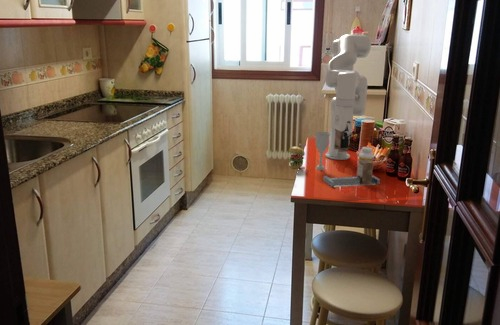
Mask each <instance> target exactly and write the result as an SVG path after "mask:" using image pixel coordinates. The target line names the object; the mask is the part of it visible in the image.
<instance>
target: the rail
mask: <svg viewBox="0 0 500 325" xmlns="http://www.w3.org/2000/svg"><path fill="white" fill-rule="evenodd" d="M323 181H324V183H326V184H327V185H328V186H330V187H331V188H340V187H341V188H342V187H356V186H357V187H358V186H373V185H375V186H376V185H380V183H381V179H380V178H378V177H377V176H375V175H373V174H372V178H371V183H363V184H362V178H361V177H360V176H358V175H357V176H344V177H329V176H328V175H323Z"/></svg>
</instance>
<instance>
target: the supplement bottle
mask: <svg viewBox="0 0 500 325" xmlns="http://www.w3.org/2000/svg"><path fill="white" fill-rule="evenodd" d="M359 160H369V161H370V162H372V163H373V164H374V160H375V155H374V153H373V148H372V147H371V146H362V147H361V152H359V154H358V161H357V162H358V163H357V164H359ZM373 168H374V167H373ZM373 168H372V171H373ZM356 172H358V170H356Z"/></svg>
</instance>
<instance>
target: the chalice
mask: <svg viewBox="0 0 500 325" xmlns="http://www.w3.org/2000/svg"><path fill="white" fill-rule="evenodd" d="M314 135H315V142H314V143H315V147H316V149H317V150H316V151H317V152H318V153H319V155H318V156H319V160H318V161H319V162H318V163H319V164H317V165H316V167H315V170H318V171H324V170H326V168H325V166H324V165H323V164H322V162H323V161H324V160H323V154H324V153H325V152H326V150H327V149H328V148H329V140H330V132H327V131H316V132H315V131H314Z"/></svg>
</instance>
